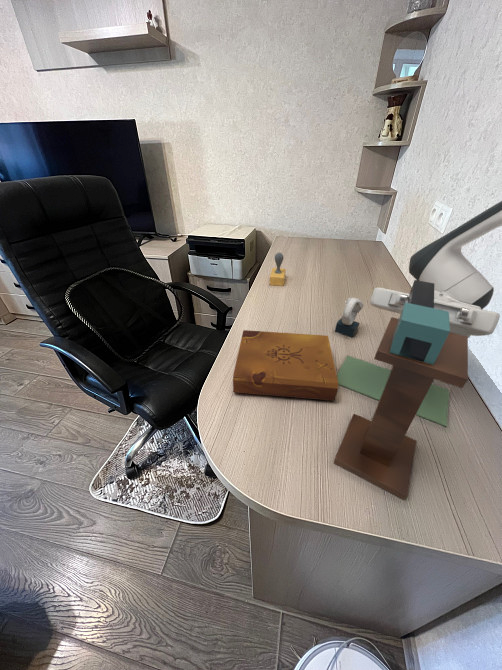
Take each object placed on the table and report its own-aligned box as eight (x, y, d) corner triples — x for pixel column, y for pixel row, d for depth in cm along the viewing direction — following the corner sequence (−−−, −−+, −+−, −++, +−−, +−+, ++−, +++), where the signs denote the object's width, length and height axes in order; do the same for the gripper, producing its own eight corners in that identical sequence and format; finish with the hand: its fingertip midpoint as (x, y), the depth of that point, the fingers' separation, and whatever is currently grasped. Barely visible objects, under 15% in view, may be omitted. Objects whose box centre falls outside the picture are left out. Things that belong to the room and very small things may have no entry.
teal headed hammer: (434, 300, 47) (446, 272, 44) (433, 365, 34) (450, 331, 31) (402, 294, 49) (412, 267, 46) (389, 352, 36) (401, 319, 33)
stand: (414, 445, 54) (476, 335, 39) (404, 500, 45) (479, 388, 31) (352, 417, 59) (385, 312, 44) (333, 463, 51) (367, 351, 36)
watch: (359, 328, 87) (367, 297, 81) (350, 340, 82) (358, 308, 76) (342, 322, 90) (349, 292, 84) (332, 334, 85) (338, 302, 78)
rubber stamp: (283, 286, 113) (285, 257, 106) (269, 285, 114) (270, 256, 107) (285, 276, 121) (287, 249, 114) (271, 275, 122) (273, 248, 115)
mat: (448, 391, 65) (449, 389, 65) (446, 427, 57) (446, 426, 57) (347, 356, 76) (347, 355, 76) (332, 382, 68) (332, 381, 67)
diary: (233, 395, 64) (232, 377, 61) (243, 346, 80) (243, 330, 76) (334, 403, 62) (339, 384, 59) (324, 351, 78) (328, 334, 74)
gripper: (378, 285, 62) (373, 274, 50) (489, 309, 53) (517, 302, 41) (368, 312, 63) (362, 308, 51) (477, 341, 54) (500, 343, 42)
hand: (432, 305), depth 46 cm, fingers open, 8 cm apart
